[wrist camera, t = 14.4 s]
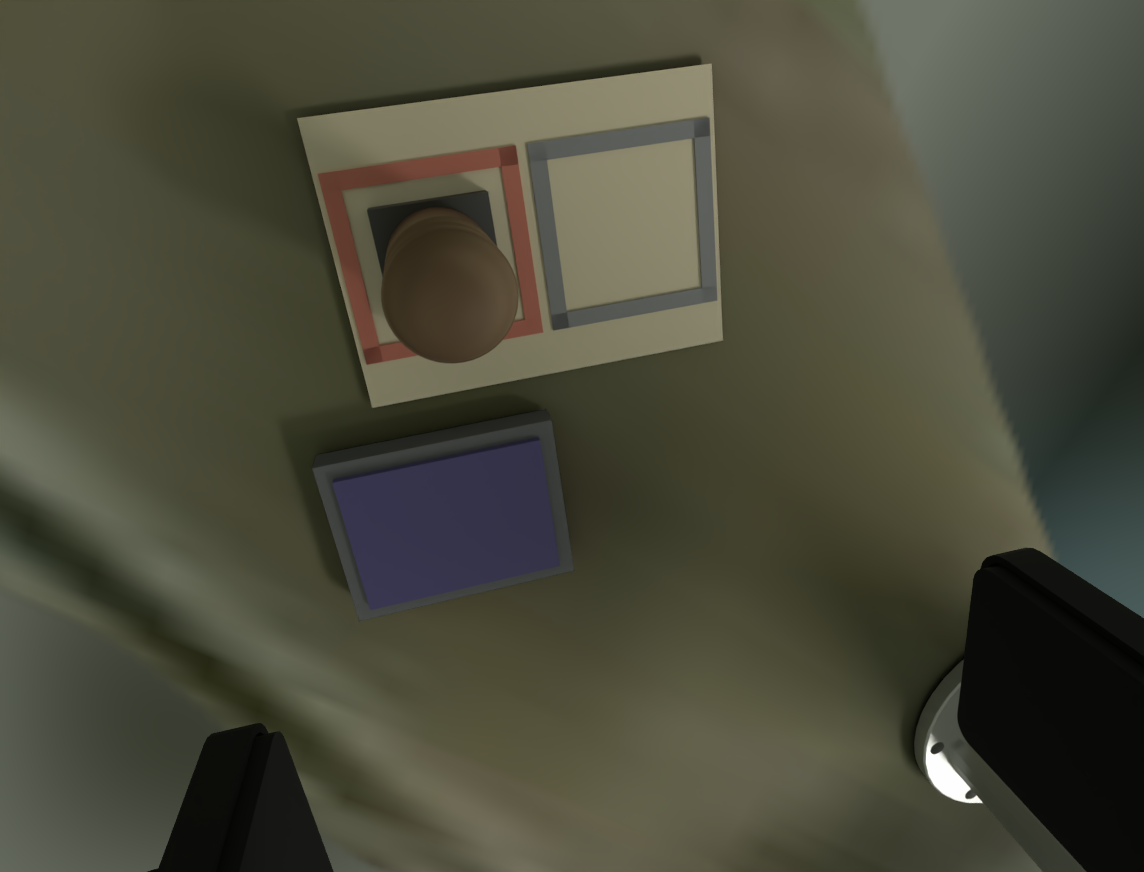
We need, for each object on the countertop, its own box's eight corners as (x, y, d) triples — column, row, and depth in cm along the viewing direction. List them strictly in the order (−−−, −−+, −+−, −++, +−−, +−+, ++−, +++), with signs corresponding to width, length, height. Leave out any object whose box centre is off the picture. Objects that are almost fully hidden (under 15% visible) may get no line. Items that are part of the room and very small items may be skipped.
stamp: (485, 189, 25) (521, 213, 17) (504, 303, 26) (544, 370, 19) (368, 207, 24) (352, 240, 17) (395, 322, 26) (392, 399, 18)
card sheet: (709, 64, 25) (712, 63, 25) (720, 339, 29) (723, 340, 29) (297, 118, 23) (296, 118, 23) (372, 406, 27) (372, 408, 27)
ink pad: (545, 409, 29) (553, 422, 27) (568, 555, 31) (575, 574, 30) (315, 455, 27) (311, 471, 26) (360, 603, 30) (359, 625, 29)
